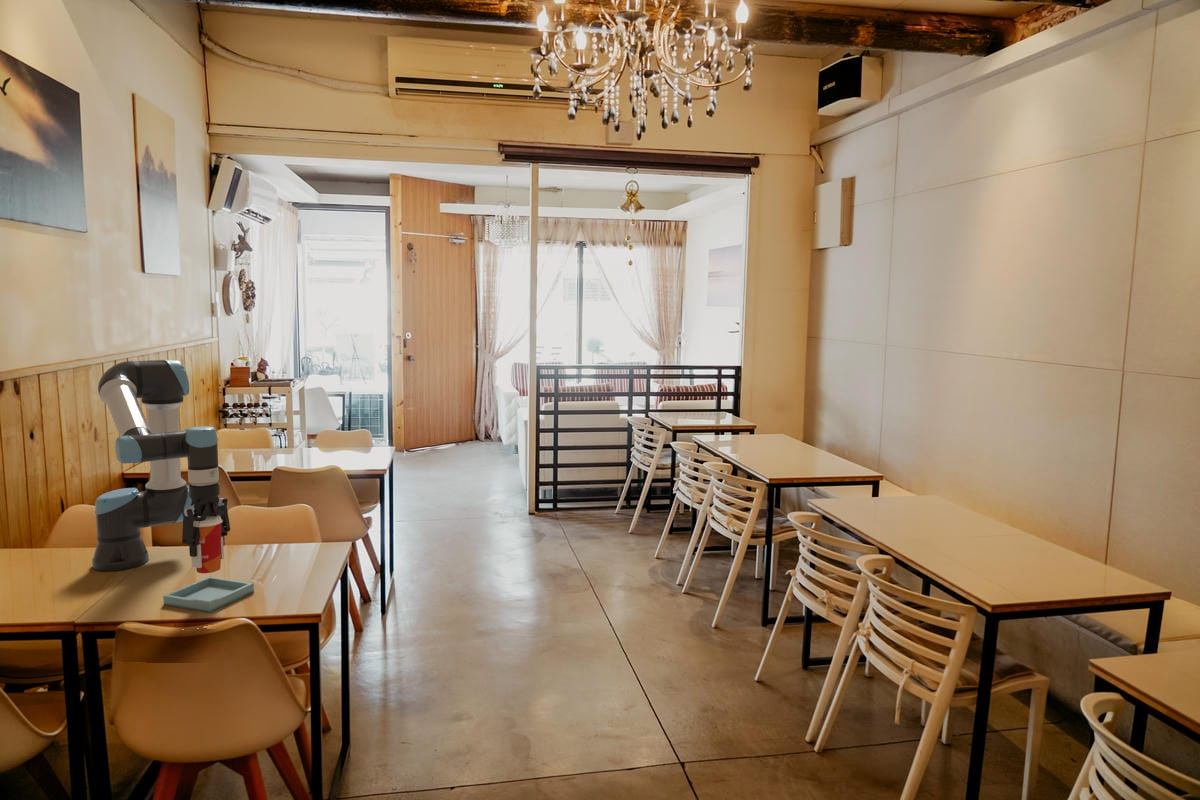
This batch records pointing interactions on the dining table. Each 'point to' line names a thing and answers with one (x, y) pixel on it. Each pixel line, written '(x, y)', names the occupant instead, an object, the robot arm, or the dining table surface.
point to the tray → (208, 594)
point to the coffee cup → (210, 543)
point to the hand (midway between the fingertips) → (208, 562)
